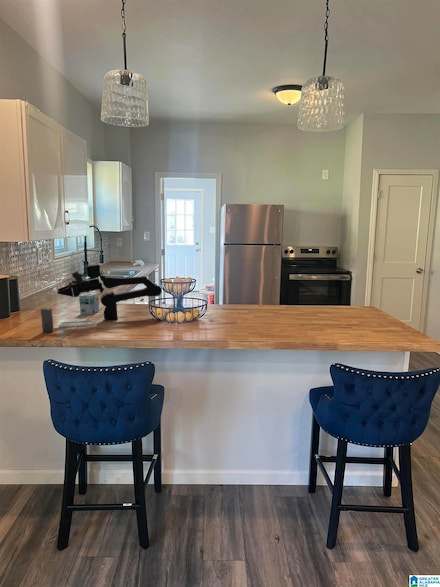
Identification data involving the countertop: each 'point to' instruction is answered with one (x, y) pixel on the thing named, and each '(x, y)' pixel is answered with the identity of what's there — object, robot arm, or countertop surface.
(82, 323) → the label plate
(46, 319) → the post
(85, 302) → the light bulb box
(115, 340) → the countertop surface
